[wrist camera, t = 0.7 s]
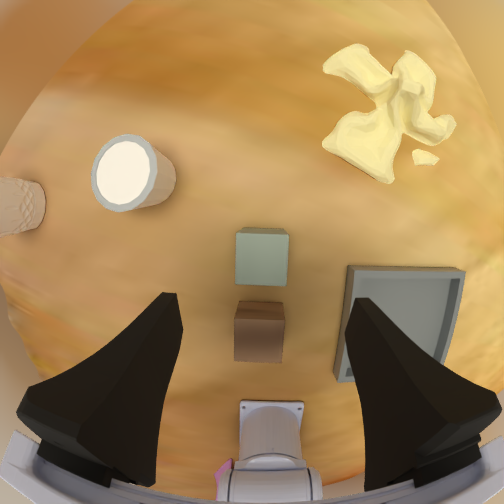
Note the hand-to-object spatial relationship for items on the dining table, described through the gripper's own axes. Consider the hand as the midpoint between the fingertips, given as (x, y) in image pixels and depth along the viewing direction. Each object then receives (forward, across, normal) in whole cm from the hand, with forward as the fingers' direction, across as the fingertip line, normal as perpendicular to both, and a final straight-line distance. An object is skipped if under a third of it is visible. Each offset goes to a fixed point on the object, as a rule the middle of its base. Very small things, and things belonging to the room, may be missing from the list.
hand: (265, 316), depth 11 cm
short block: (+14, 0, +14) cm, 19 cm away
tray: (+13, -17, +13) cm, 25 cm away
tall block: (+16, 0, +6) cm, 18 cm away
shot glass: (+20, +12, 0) cm, 23 cm away
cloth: (+23, -16, -10) cm, 30 cm away
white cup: (+19, +32, +2) cm, 37 cm away
